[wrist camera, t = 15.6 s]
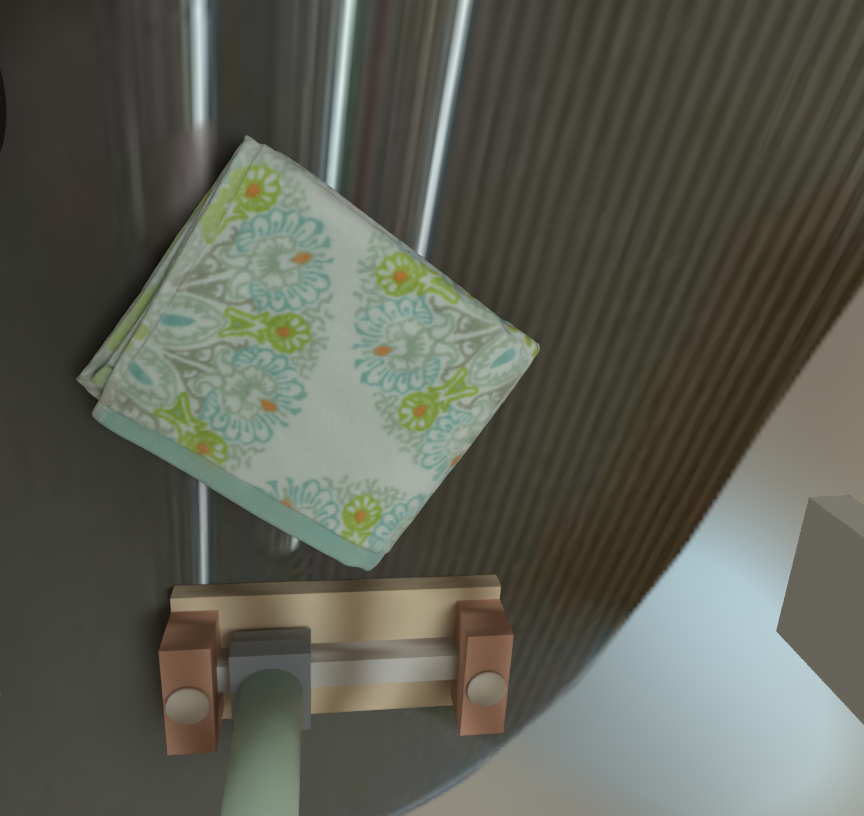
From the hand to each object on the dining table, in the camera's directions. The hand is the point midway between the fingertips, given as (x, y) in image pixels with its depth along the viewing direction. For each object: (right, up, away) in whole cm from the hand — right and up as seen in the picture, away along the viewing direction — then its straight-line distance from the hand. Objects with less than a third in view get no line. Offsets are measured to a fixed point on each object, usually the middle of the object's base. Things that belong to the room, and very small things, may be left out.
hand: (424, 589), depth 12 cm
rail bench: (-6, -14, +41) cm, 43 cm away
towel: (-7, +6, +34) cm, 35 cm away
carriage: (-11, -14, +38) cm, 42 cm away
